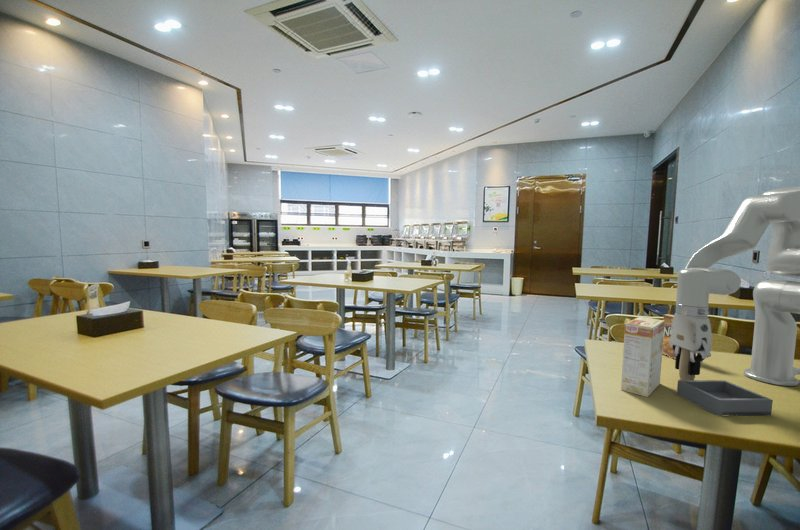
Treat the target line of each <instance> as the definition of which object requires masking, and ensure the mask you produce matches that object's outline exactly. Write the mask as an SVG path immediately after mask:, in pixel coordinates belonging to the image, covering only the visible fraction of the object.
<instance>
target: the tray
mask: <svg viewBox="0 0 800 530" xmlns="http://www.w3.org/2000/svg"><path fill="white" fill-rule="evenodd" d="M676 395H677V396H679V397H681V398H683V399H685V400H687V401H688V402H690V403H693V404H694V405H696V406H699V407H701V408H702V409H704V410H706V411H708V412H710V413H712V414H714V415H716V416H717V415H719V416H718V417H722V416H721V415H730V416H729V417H745V416H748V417H752V416H754V417H755V416H757V417H759V416H761V417H762V416H764V417H765V416H769V417H770V416H772V411H773V401H774V400H773V399H771V398H768V397H766V396H764V395H761V394H759V393H758V392H755V391H752V390H749V389H747V388H744V387H742V386H740V385H737V384H735V383H732V382H729V381H727V380H721V379H719V380H716V379H715V380H711V379H710V380H709V379H708V380H707V379H705V380H701V379H699V380H695V379H694V380H677V388H676ZM731 415H733V416H731ZM736 415H737V416H736Z"/></svg>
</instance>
